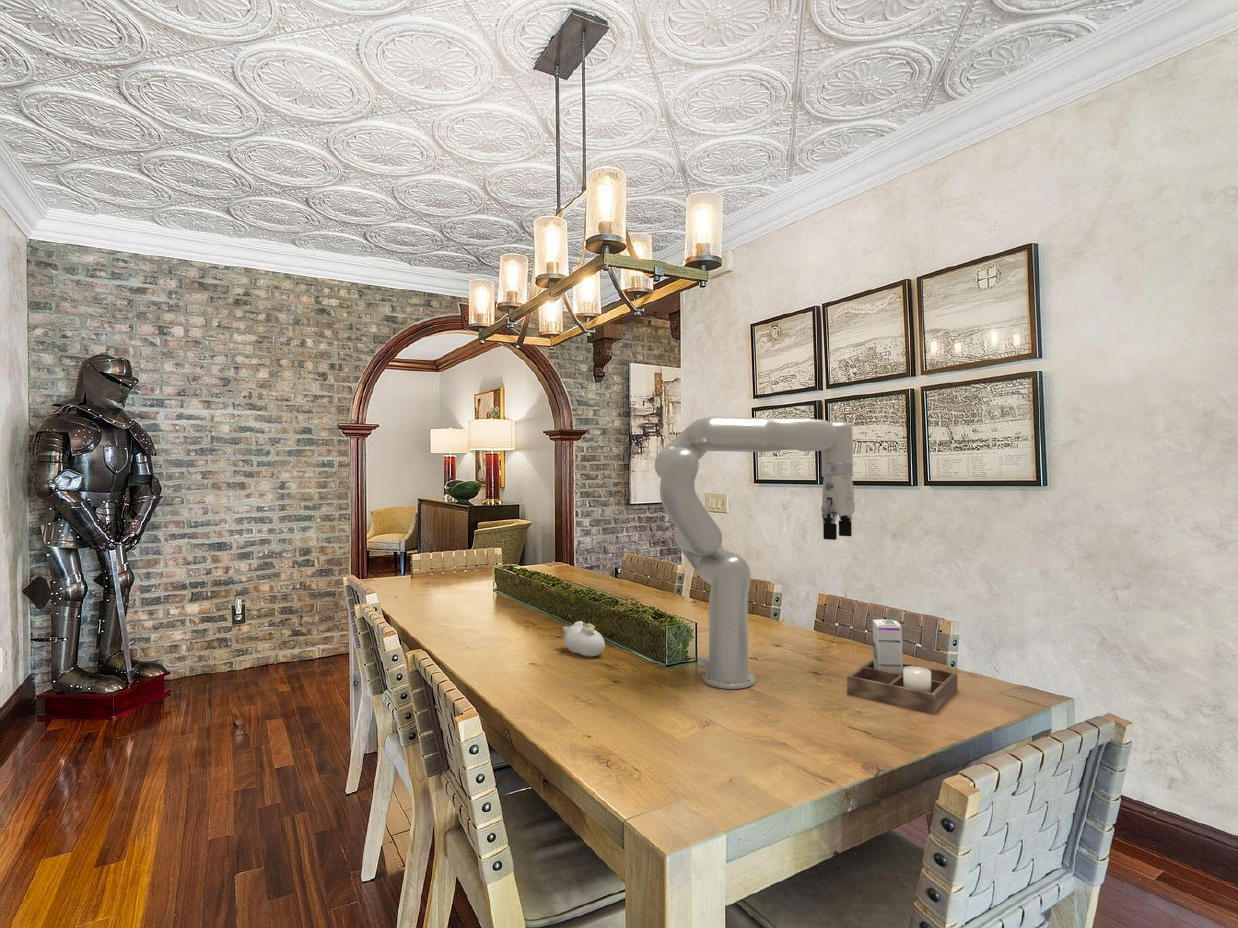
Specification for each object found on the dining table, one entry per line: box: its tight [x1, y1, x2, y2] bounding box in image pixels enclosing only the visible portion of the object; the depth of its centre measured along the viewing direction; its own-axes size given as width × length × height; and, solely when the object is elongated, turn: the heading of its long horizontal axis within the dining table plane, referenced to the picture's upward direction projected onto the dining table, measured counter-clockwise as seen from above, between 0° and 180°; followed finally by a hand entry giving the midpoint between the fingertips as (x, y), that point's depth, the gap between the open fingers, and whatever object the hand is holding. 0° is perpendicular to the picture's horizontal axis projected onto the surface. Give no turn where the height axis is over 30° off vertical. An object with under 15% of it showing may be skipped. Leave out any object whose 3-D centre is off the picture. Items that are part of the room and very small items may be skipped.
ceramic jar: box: [903, 666, 931, 693], centre depth 139 cm, size 6×6×7 cm
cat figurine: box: [562, 620, 606, 658], centre depth 180 cm, size 10×8×15 cm
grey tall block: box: [872, 618, 904, 674], centre depth 151 cm, size 6×6×14 cm
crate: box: [846, 658, 959, 716], centre depth 145 cm, size 18×18×5 cm
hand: (837, 537), depth 163 cm, fingers open, 9 cm apart
